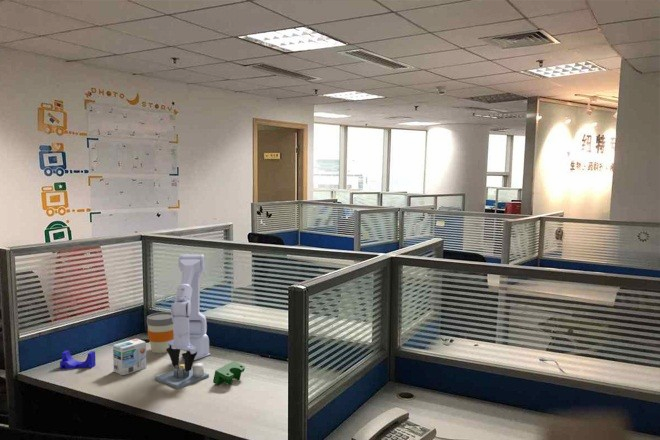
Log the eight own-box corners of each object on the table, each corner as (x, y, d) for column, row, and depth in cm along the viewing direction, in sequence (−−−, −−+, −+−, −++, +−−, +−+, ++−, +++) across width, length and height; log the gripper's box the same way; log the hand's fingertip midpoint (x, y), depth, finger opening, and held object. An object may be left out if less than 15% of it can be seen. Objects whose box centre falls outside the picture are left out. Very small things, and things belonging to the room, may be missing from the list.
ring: (183, 371, 200) (182, 362, 200) (192, 375, 197) (192, 366, 196) (170, 376, 195) (170, 367, 195) (180, 379, 192) (180, 370, 192)
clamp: (226, 397, 190) (225, 380, 185) (214, 390, 193) (212, 373, 188) (247, 375, 199) (245, 358, 194) (234, 369, 202) (233, 352, 197)
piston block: (185, 368, 206) (185, 356, 206) (208, 376, 198) (208, 364, 197) (154, 379, 195) (154, 366, 194) (178, 388, 186) (178, 375, 186)
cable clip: (60, 369, 204) (59, 354, 204) (66, 364, 209) (65, 350, 208) (89, 370, 204) (89, 355, 203) (95, 365, 208) (95, 351, 208)
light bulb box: (122, 375, 198) (121, 348, 197) (112, 371, 202) (112, 344, 201) (147, 367, 206) (146, 341, 205) (137, 363, 210) (136, 337, 210)
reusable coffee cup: (170, 342, 237) (169, 310, 235) (181, 350, 227) (181, 316, 226) (142, 348, 229) (142, 315, 227) (153, 356, 219) (152, 321, 218)
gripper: (160, 331, 196) (161, 366, 197) (185, 339, 187) (185, 375, 188) (176, 327, 201) (176, 361, 203) (200, 334, 193) (201, 370, 194)
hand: (181, 368), depth 196 cm, fingers open, 7 cm apart
